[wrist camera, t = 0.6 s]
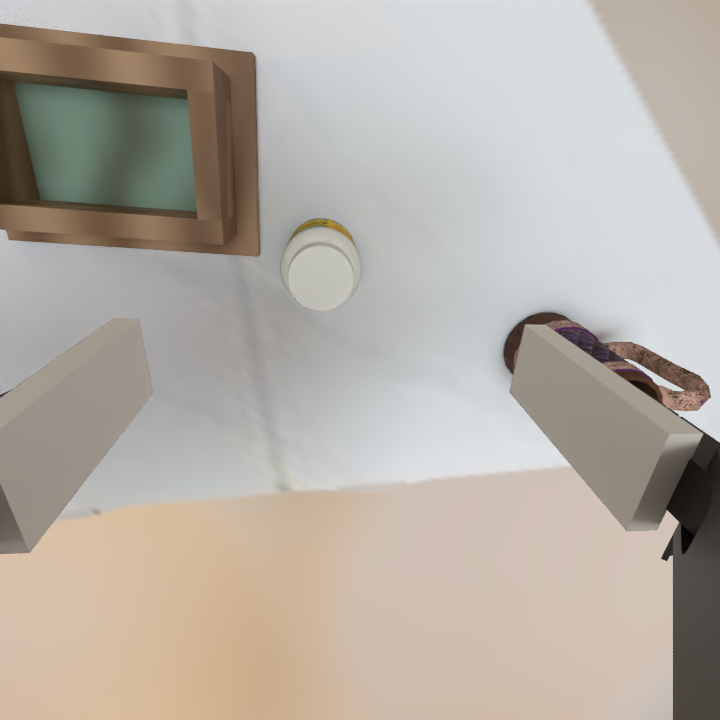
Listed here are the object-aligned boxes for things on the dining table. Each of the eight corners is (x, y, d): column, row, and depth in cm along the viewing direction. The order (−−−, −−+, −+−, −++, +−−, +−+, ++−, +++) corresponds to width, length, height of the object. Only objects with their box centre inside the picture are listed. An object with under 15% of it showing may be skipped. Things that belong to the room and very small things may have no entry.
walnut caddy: (18, 237, 31) (-43, 250, 26) (-39, 23, 25) (-129, -14, 20) (259, 254, 32) (247, 268, 27) (255, 56, 27) (238, 30, 22)
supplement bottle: (316, 297, 34) (312, 339, 26) (274, 244, 32) (255, 271, 23) (368, 258, 33) (382, 289, 24) (328, 202, 31) (328, 213, 22)
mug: (501, 385, 39) (567, 467, 28) (502, 317, 36) (576, 379, 25) (605, 369, 39) (710, 444, 28) (614, 299, 36) (736, 354, 25)
